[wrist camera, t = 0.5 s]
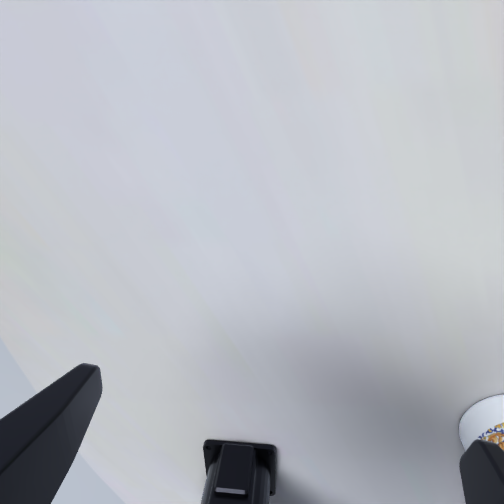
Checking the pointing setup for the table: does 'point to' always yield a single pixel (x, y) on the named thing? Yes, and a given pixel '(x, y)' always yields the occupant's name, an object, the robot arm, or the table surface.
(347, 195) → the table surface
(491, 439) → the bath foam
